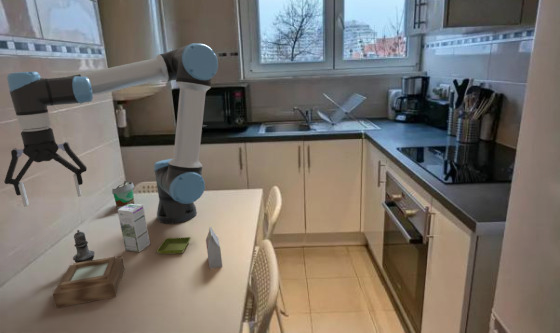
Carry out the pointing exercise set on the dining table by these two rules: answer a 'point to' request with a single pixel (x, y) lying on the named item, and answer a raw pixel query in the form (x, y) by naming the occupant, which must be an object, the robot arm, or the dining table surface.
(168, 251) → the olive green shallow tray
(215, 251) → the grey upright block
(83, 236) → the salt shaker
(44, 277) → the dining table surface
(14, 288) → the dining table surface
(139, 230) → the syrup box
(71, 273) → the display pedestal
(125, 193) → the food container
